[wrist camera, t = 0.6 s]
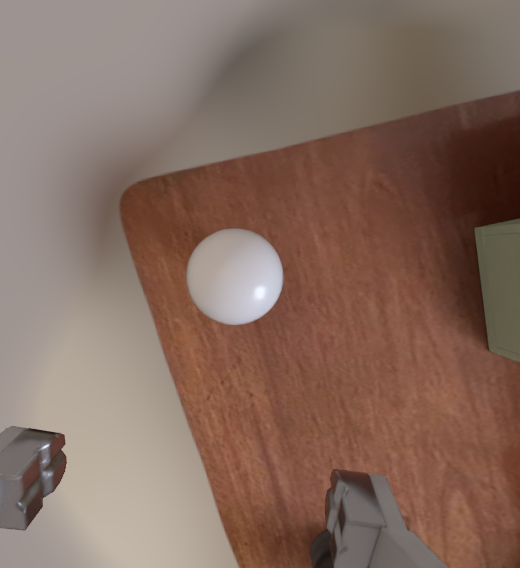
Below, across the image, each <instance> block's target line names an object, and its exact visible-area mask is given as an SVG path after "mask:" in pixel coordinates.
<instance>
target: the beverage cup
mask: <svg viewBox="0 0 520 568" xmlns="http://www.w3.org/2000/svg"><path fill="white" fill-rule="evenodd" d="M331 536H332V534H331V533H330V531H329V530H327V531H325V532H322V533H321V534H320V535H318V536H317V537H316V538H315V540H314V541H313V543H312V546H311V549H310V554H311V559H312V566H313V568H333V563H332V557H331V551H330V545H329V544H330V540H331Z"/></svg>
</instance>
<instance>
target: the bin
mask: <svg viewBox="0 0 520 568" xmlns="http://www.w3.org/2000/svg"><path fill="white" fill-rule="evenodd" d="M474 231H475V239H476V247H477V255H478V264H479V272H480V280H481V288H482V296H483V305H484V313H485V321H486V329H487V337H488V346H489V351H490V352H493V353H496V354H498V355H501V356H504V357H506V358H509V359H512V360H514V361H517V362H520V219H515V220H510V221H506V222H501V223H496V224H491V225H486V226H482V227H477V228H474Z"/></svg>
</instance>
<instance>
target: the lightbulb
mask: <svg viewBox="0 0 520 568" xmlns="http://www.w3.org/2000/svg"><path fill="white" fill-rule="evenodd" d="M186 282H187V288H188V291H189V294H190V296H191V299H192V300H193V302H194V304H195V305H196V306H197V308H198V309H199V310H200V311H201V312H202V313H203V314H205V315H206V316H207V317H209V318H210V319H212V320H214V321H217V322H219V323H223V324H228V325H241V324H246V323H250V322H253V321H255V320H257V319H259V318H261V317H262V316H264V315H265V314H266V313H267V312H268V311H269V310H270V309H271V308H272V307H273V306H274V304H275V303H276V301H277V300H278V298H279V295H280V293H281V290H282V285H283V268H282V264H281V261H280V258H279V256H278V254H277V252H276V250H275V249H274V248H273V246H272V245H271V244H270V243H269V242H268V241H267V240H266V239H265V238H263V237H262V236H260V235H259V234H257V233H255V232H253V231H250V230H246V229H241V228H229V229H223V230H220V231H217V232H215V233H212V234H211V235H209V236H207V237H206V238H205V239H203V240H202V241H201V242H200V243H199V244H198V245H197V247H196V248H195V249H194V251H193V252H192V254H191V256H190V259H189V261H188V265H187V271H186Z"/></svg>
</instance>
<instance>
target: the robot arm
mask: <svg viewBox="0 0 520 568" xmlns="http://www.w3.org/2000/svg"><path fill="white" fill-rule="evenodd" d="M64 445H65V436H64V435H63V434H61V433H55V432H49V431H43V430H37V429H30V428H22V427H16V426H12V427H9V428H7V429H5V430H4V431H3V432H2V433H1V434H0V528H6V529H15V530H26V529H27V527H28V526H29V524H30V523H31V522H32V520H33V519H34V518H35V516H36V515H37V514H38V512H39V511H40V509H41V508H42V507H43V498H44V497H45V496H47V495H49V494H50V493H52V492H54V490H55V489H56V487H57V486H58V484H59V483H60V481H61V479H62V477H63V474H64V472H65V468H66V463H67V462H66V455H65V454H64V453H63V451H62V450H61V449H62V448H63V446H64ZM330 481H331V488H330V489H328V490H327V494H326V499H325V519H326V526H327V529H328V530H329V531H330V533H331V534H332V536H331V540H330V544H329V545H330V551H331V557H332V563H333V568H448V567H447V566H446V565H445V564H444V563H443V562H442V560H441V559H440V558H439V557H438V556H437V555H436V554H435V553H434V552H433V551H432V550H431V549H430V548H429V547H428V546H427V545H426V544H425V543H424V542H423V541H422V540H421V539H420V538H419V537H418V536H417V535H416V534H415V533H414V532H413V531H409V530H407V528H406V525H405V523H404V520H403V518H402V515H401V513H400V510H399V508H398V505H397V503H396V500H395V498H394V495H393V493H392V490H391V488H390V485H389V483H388V480H387V478H386V477H385V476H384V475H380V474H371V473H363V472H355V471H347V470H338V469H333V471H332V473H331V477H330Z"/></svg>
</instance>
